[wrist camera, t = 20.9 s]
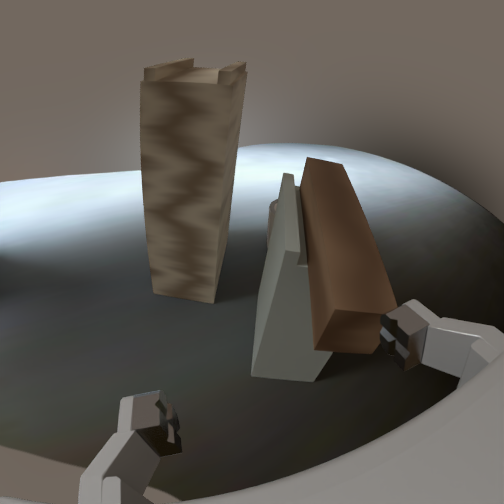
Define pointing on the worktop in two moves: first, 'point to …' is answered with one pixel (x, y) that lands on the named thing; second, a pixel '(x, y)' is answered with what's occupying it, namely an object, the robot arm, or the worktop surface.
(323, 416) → the worktop surface
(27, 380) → the worktop surface
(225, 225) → the shelf block
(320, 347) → the walnut bar
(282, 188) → the block
